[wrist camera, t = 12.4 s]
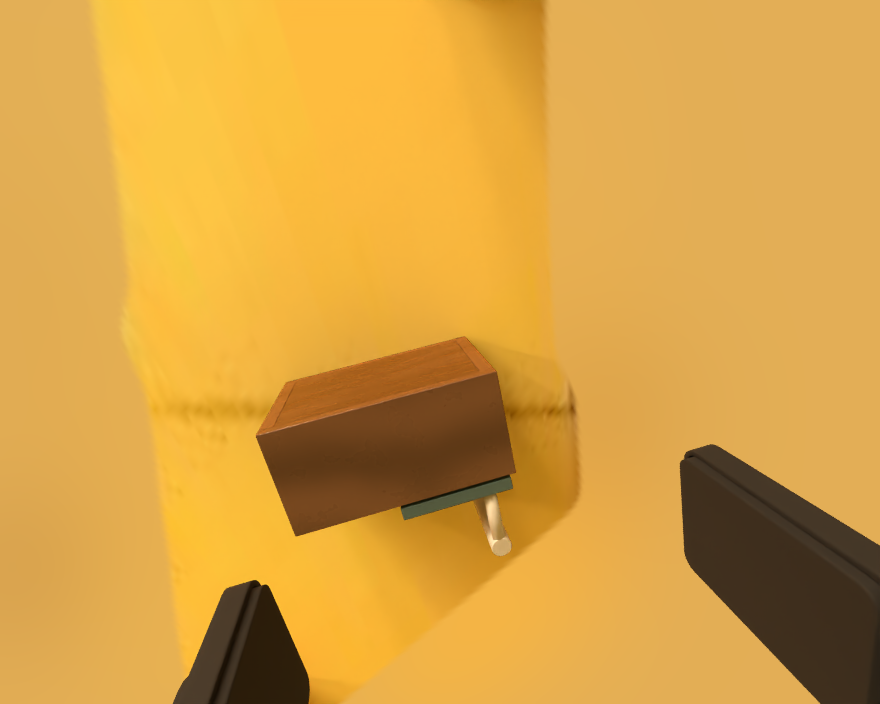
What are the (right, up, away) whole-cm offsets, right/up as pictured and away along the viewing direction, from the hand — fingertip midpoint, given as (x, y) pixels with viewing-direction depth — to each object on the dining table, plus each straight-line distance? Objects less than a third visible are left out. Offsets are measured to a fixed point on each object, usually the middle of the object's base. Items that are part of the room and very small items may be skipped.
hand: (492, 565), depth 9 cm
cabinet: (-6, 0, +29) cm, 29 cm away
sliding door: (-1, -6, +31) cm, 32 cm away
